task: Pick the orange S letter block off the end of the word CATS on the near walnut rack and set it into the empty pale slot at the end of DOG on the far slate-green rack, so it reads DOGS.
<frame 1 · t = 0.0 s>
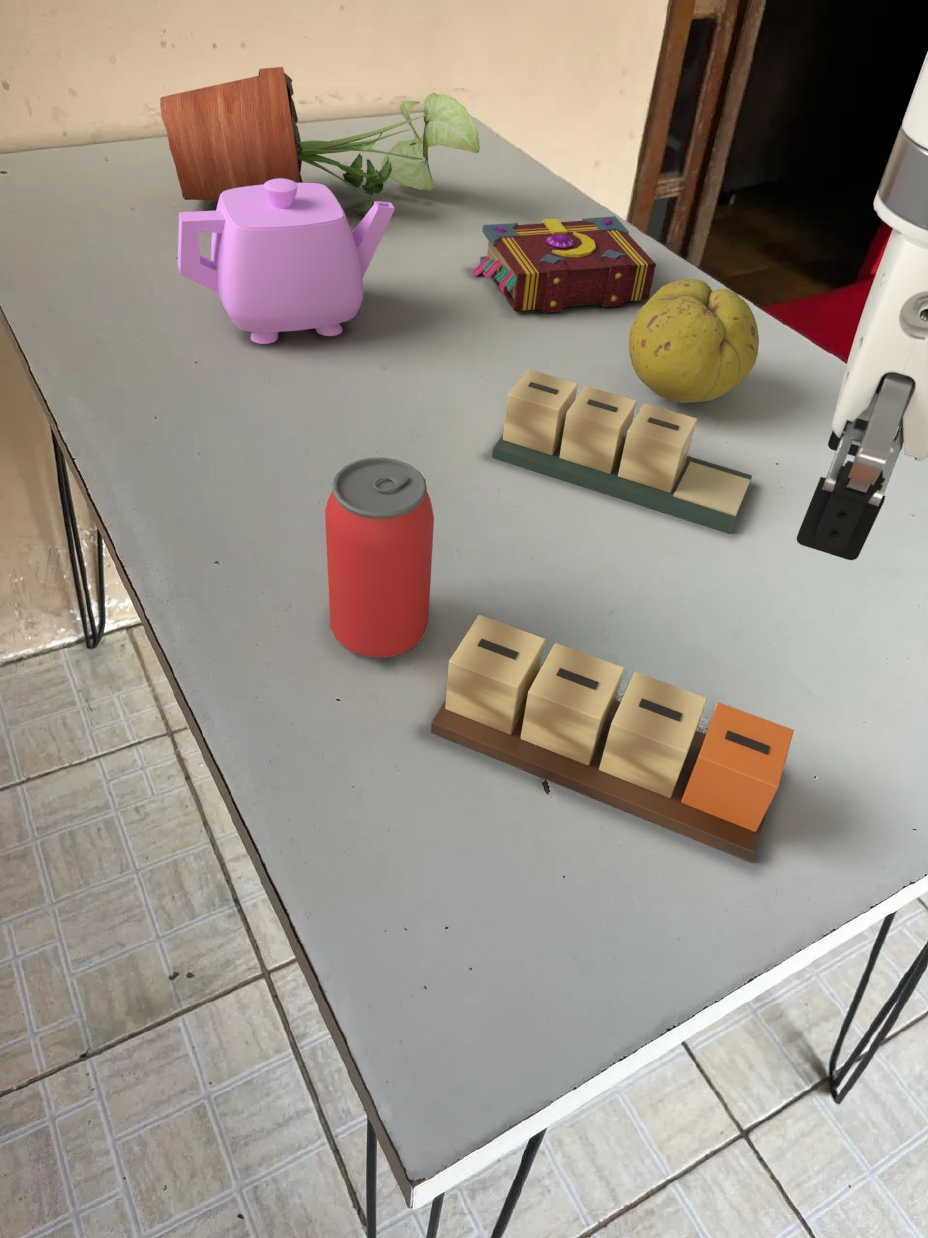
hand: (840, 498, 55), 15 cm above the table, tool pointing down, fingers open, 9 cm apart
dog rack: (620, 471, 80), on the table
potted plant: (332, 205, 114), on the table
beer can: (379, 628, 66), on the table
fruit: (677, 395, 89), on the table
teapot: (292, 318, 95), on the table
s tile: (726, 789, 57), point 1 cm above the table, touching cats rack
decorative book: (557, 287, 103), on the table
cats rack: (602, 752, 60), on the table
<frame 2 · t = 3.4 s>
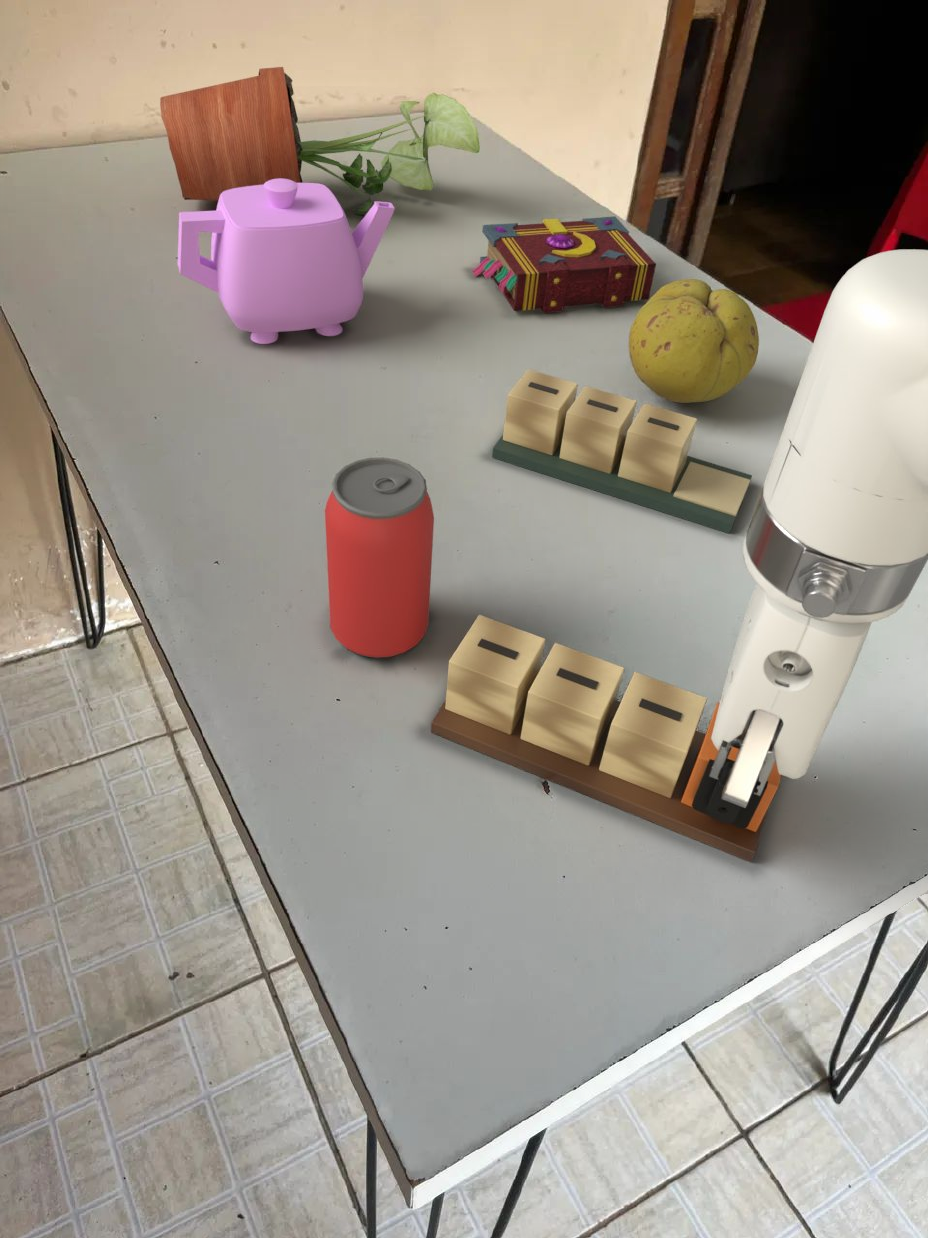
hand: (730, 779, 56), 2 cm above the table, tool pointing down, fingers closed on s tile, 4 cm apart
s tile: (726, 789, 57), point 1 cm above the table, touching cats rack, gripper
everything else where it was.
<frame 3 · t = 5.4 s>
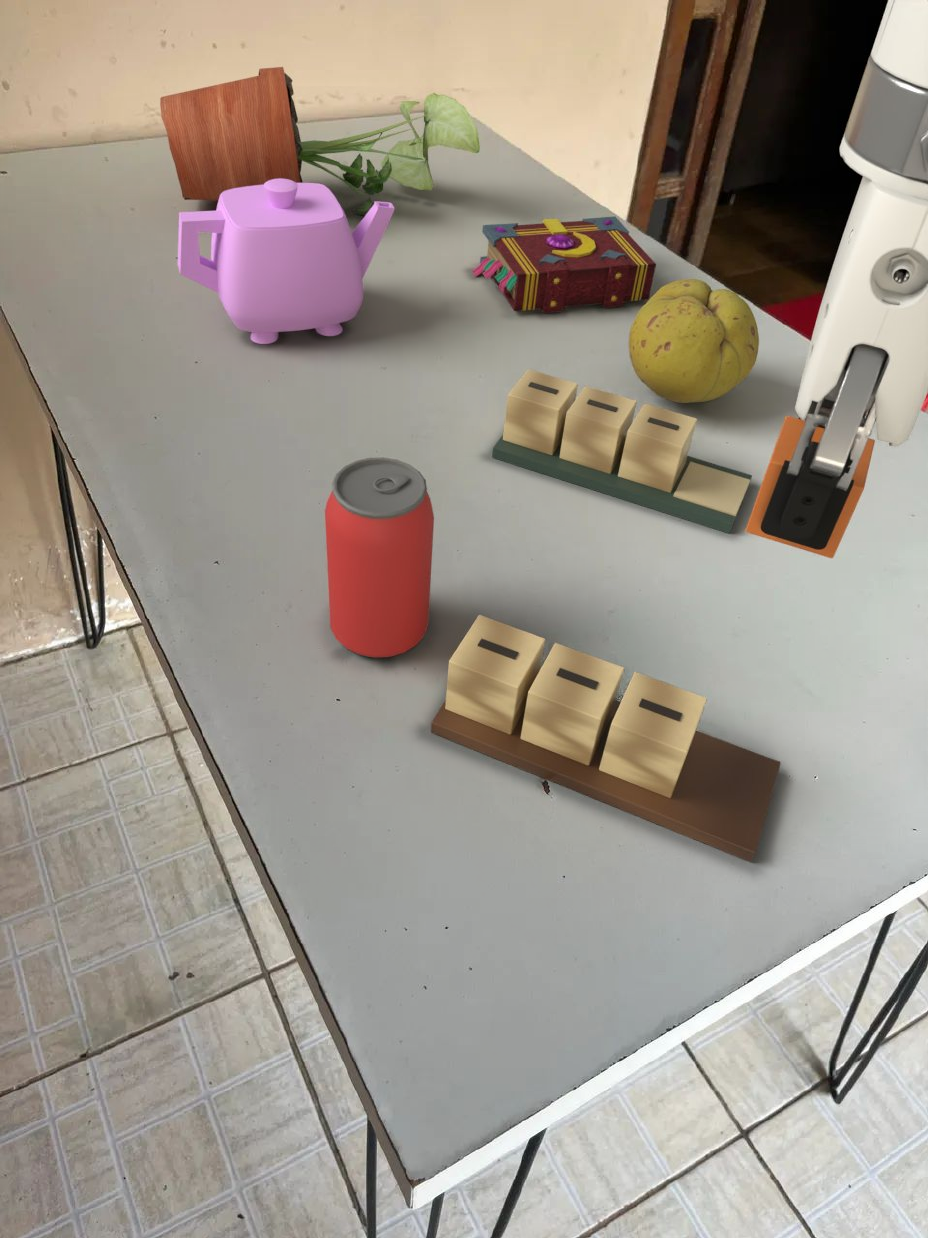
hand: (801, 505, 49), 18 cm above the table, tool pointing down, fingers closed on s tile, 4 cm apart
s tile: (795, 520, 50), point 17 cm above the table, touching gripper
everything else where it was.
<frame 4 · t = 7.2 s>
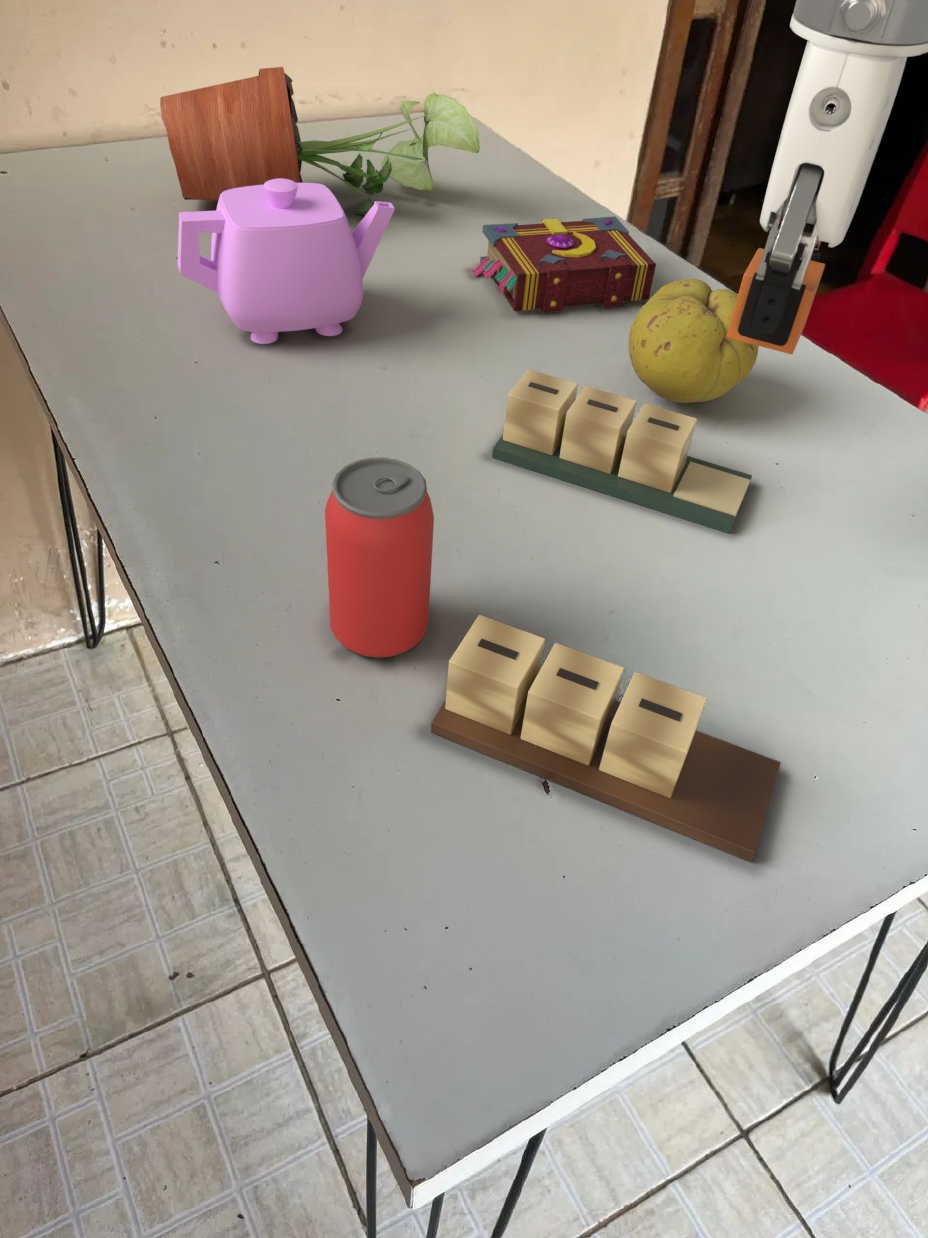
hand: (770, 318, 65), 17 cm above the table, tool pointing down, fingers closed on s tile, 4 cm apart
s tile: (765, 331, 65), point 16 cm above the table, touching gripper
everything else where it was.
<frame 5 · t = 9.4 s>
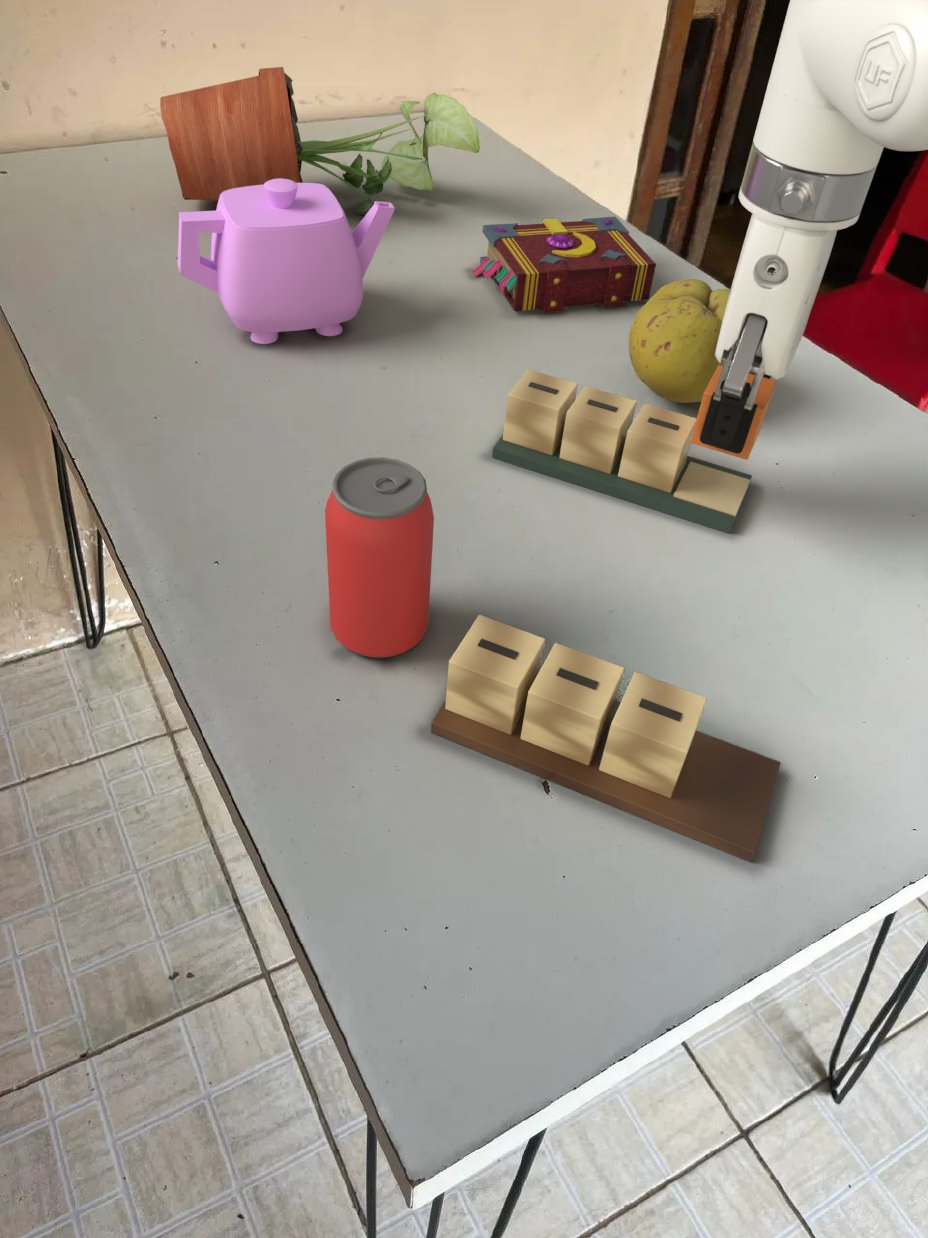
hand: (729, 426, 73), 7 cm above the table, tool pointing down, fingers closed on s tile, 4 cm apart
s tile: (725, 436, 74), point 6 cm above the table, touching gripper
everything else where it was.
when the fingers open (2 cm above the table, at t = 10.9 s): s tile stays where it is, resting on dog rack.
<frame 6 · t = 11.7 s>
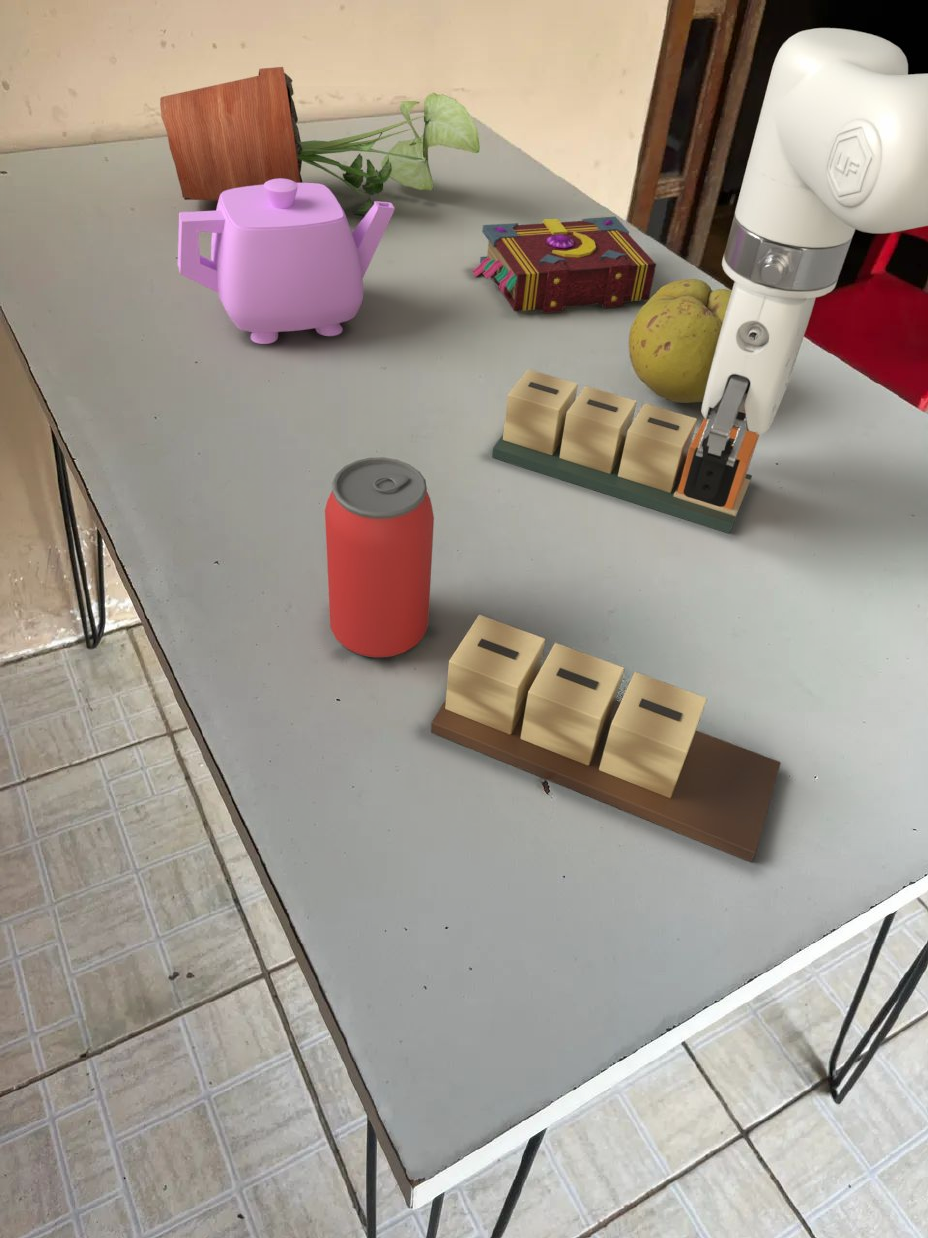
hand: (719, 465, 76), 3 cm above the table, tool pointing down, fingers open, 9 cm apart
s tile: (711, 486, 77), point 1 cm above the table, touching dog rack
everything else where it was.
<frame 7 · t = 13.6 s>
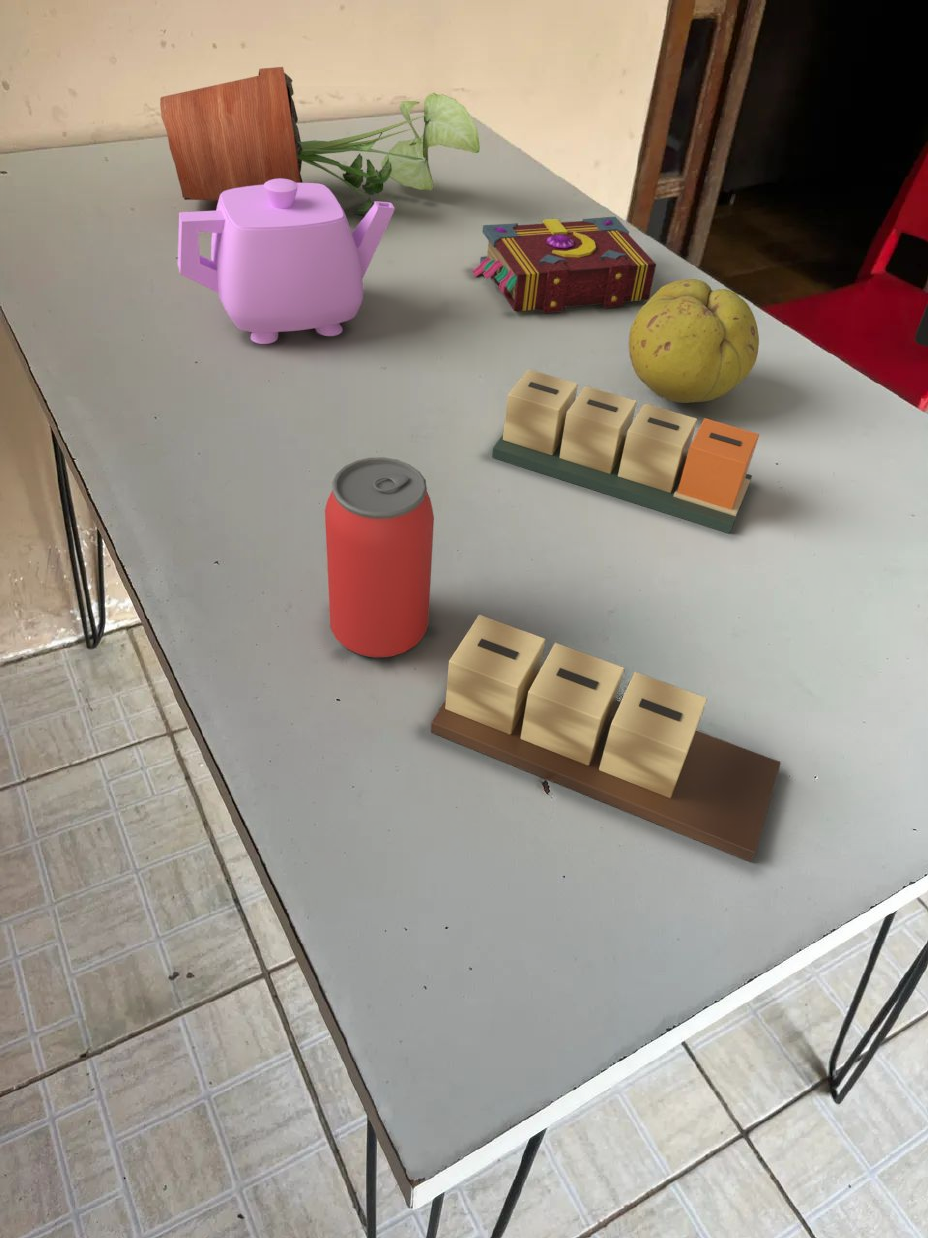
nothing on the table moved.
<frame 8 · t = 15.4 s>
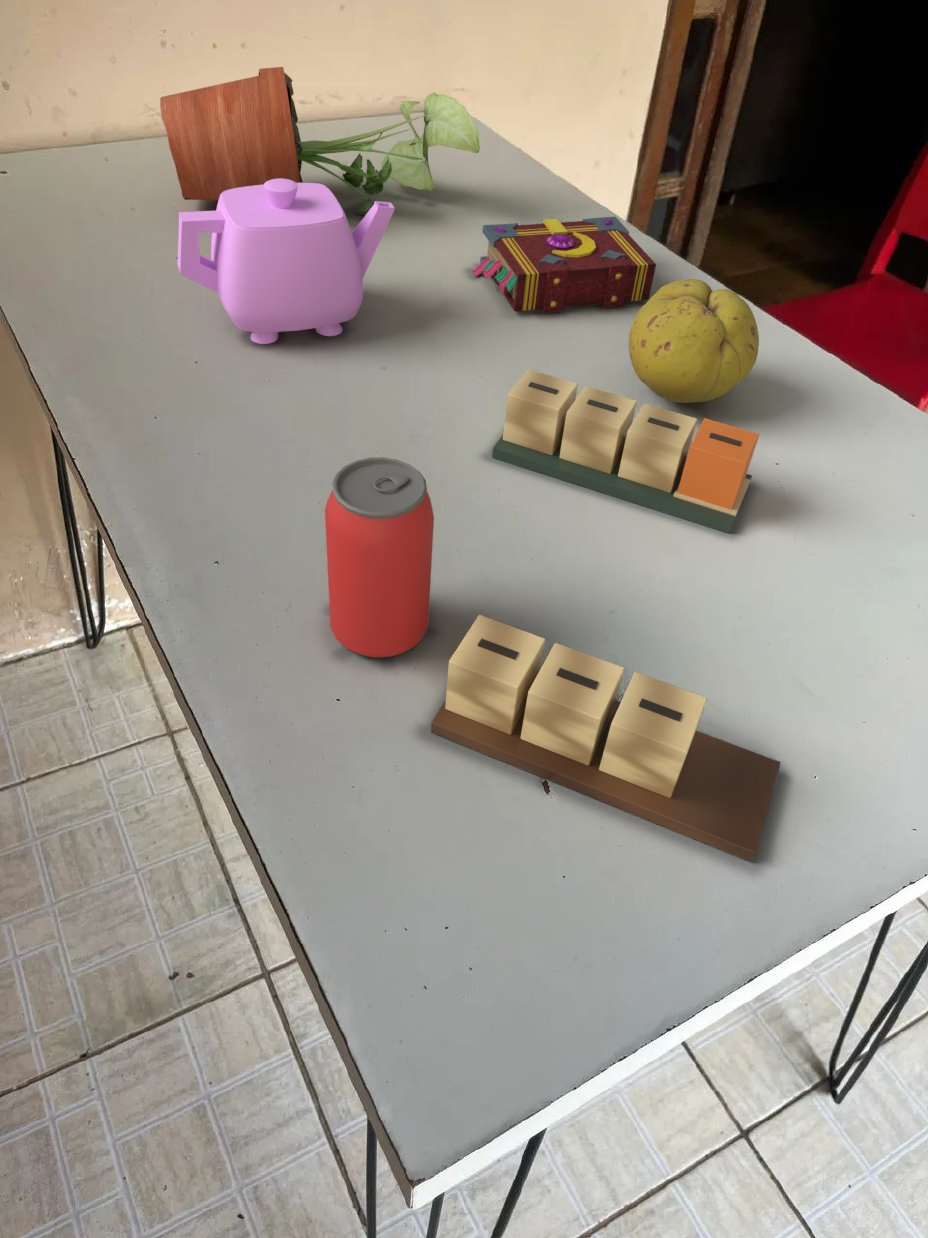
nothing on the table moved.
at the end: s tile 0.1 cm from the target spot on the dog rack, point 1.2 cm above the dog rack's base; s tile tilted 0°; the gripper is holding nothing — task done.
